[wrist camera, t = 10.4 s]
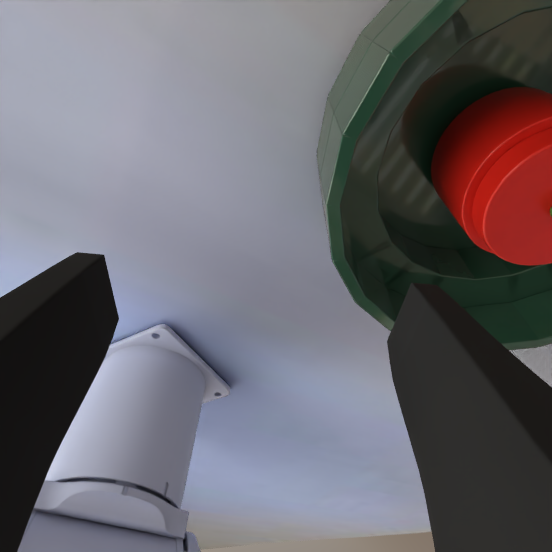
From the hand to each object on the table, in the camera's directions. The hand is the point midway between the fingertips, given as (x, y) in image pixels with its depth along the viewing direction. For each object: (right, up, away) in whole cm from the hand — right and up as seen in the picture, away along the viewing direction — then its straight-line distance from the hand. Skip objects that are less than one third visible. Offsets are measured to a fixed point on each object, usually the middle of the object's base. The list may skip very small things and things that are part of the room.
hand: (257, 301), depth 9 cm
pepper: (+10, +6, +7) cm, 13 cm away
